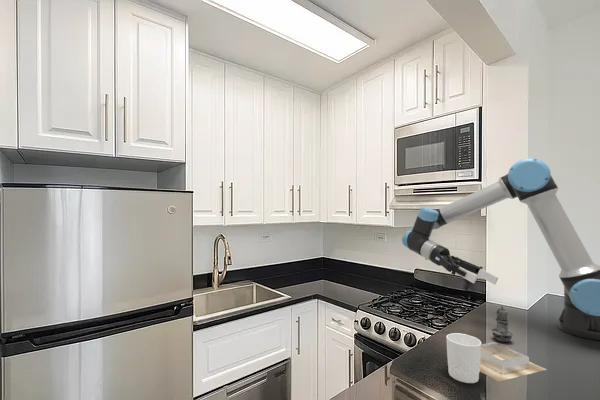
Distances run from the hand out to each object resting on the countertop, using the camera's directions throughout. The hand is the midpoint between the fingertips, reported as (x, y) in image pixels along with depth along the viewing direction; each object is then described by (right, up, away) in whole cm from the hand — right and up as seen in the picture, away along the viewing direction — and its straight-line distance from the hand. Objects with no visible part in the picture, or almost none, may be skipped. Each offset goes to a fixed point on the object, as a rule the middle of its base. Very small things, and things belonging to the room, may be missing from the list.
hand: (486, 280), depth 108 cm
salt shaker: (+1, -19, -6) cm, 20 cm away
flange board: (-9, -18, -21) cm, 29 cm away
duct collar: (-9, -17, -21) cm, 29 cm away
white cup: (-23, -18, -28) cm, 40 cm away
